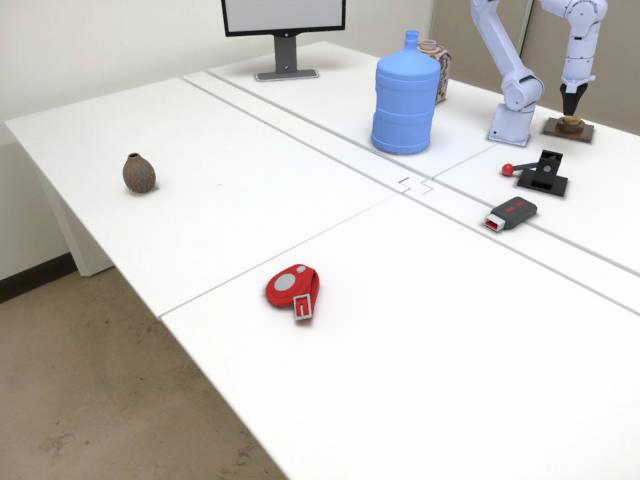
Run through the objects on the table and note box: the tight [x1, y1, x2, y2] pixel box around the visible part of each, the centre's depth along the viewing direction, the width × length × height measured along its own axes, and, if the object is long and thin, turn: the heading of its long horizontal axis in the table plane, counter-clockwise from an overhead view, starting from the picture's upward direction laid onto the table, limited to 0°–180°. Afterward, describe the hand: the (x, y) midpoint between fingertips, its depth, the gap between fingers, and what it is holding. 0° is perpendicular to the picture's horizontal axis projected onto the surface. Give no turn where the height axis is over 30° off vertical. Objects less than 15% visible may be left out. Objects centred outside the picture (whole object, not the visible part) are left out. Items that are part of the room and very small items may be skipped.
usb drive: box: [483, 195, 538, 232], centre depth 95 cm, size 5×12×3 cm, turn 126°
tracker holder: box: [265, 263, 320, 321], centre depth 77 cm, size 12×4×10 cm
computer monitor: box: [220, 0, 347, 83], centre depth 153 cm, size 41×8×40 cm, turn 102°
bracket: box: [516, 149, 569, 198], centre depth 104 cm, size 10×8×7 cm
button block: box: [542, 116, 595, 144], centre depth 127 cm, size 12×10×3 cm
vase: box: [122, 152, 157, 195], centre depth 103 cm, size 7×7×9 cm
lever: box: [501, 155, 556, 176], centre depth 106 cm, size 12×3×3 cm, turn 61°
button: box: [563, 114, 582, 125], centre depth 126 cm, size 4×4×2 cm
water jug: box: [370, 29, 441, 155], centre depth 115 cm, size 16×16×28 cm
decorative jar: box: [417, 39, 453, 105], centre depth 141 cm, size 12×12×18 cm
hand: (568, 114), depth 111 cm, fingers closed
